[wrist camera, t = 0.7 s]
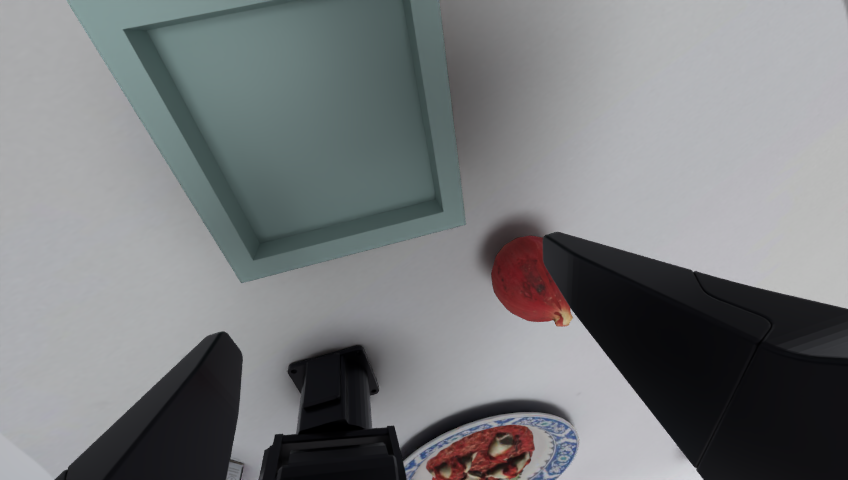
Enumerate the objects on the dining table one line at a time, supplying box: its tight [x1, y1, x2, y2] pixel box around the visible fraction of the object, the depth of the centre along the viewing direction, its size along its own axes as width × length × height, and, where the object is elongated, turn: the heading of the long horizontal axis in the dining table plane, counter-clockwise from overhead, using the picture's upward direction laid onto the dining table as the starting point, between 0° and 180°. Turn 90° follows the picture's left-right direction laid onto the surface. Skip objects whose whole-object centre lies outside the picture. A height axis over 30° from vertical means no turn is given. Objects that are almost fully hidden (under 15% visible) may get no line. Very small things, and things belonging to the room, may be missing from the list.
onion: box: [491, 236, 573, 326], centre depth 24 cm, size 6×6×8 cm
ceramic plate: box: [403, 412, 579, 480], centre depth 43 cm, size 26×26×3 cm
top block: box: [67, 0, 466, 283], centre depth 15 cm, size 11×11×4 cm
